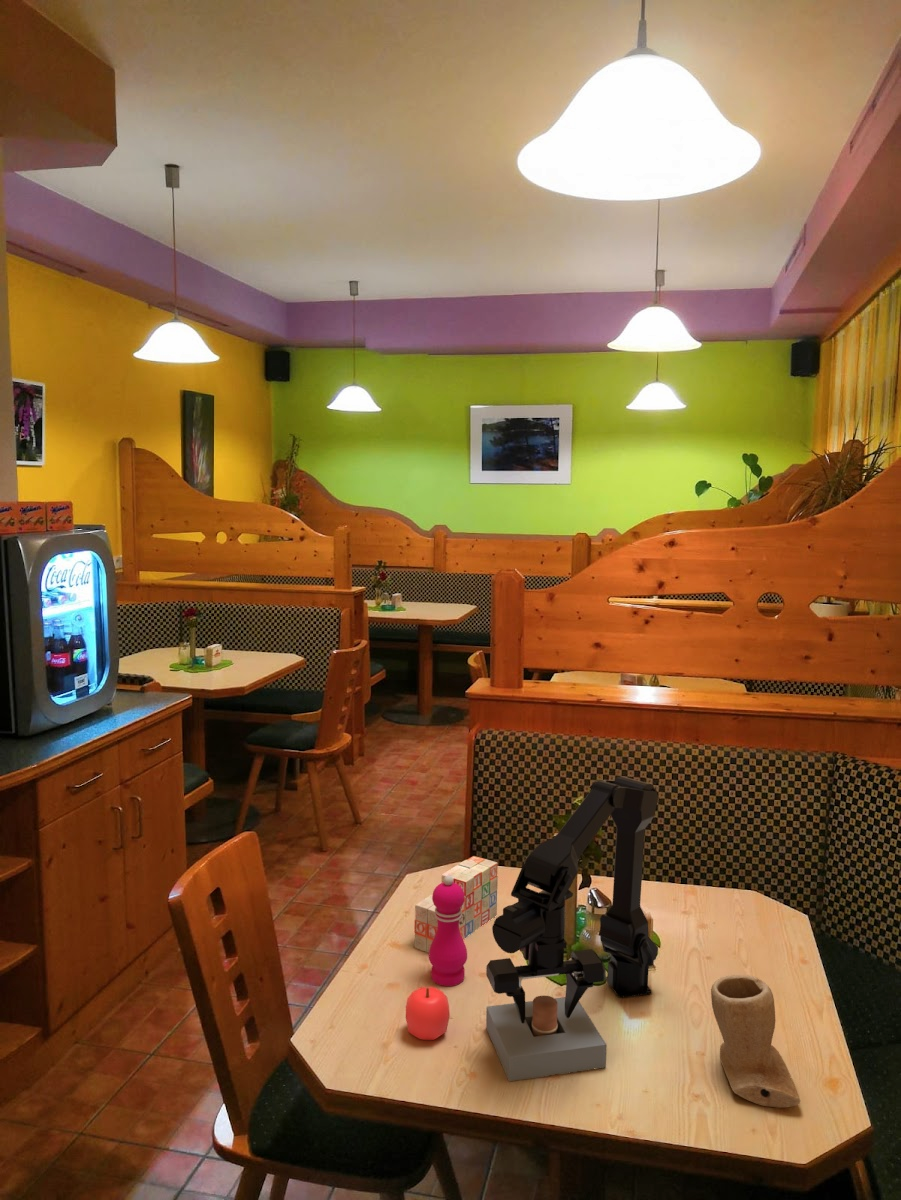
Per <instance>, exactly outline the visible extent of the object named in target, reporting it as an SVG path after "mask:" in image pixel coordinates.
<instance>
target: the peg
mask: <svg viewBox="0 0 901 1200" xmlns="http://www.w3.org/2000/svg"><path fill="white" fill-rule="evenodd" d="M554 998H555V997H553V996H549V995H537V996H536V997H534V998H533V999H532V1001H533V1021H532V1034H533V1036H534V1037H536V1036H544V1035H551V1034H557V1026H558V1024H557V1001H556V999H554Z"/></svg>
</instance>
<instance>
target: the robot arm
mask: <svg viewBox="0 0 901 1200" xmlns="http://www.w3.org/2000/svg"><path fill="white" fill-rule="evenodd" d="M658 803H659V794H658V790H657V789H656V788H655V786H654V785H653V784H651V783H650V782H649V783H648V782H645V781H643V780H642V781H641V780H638V779H633V778H632V777H631V778H630V777H628V776H622V775H621V776H618V777H616V778H615V779H614V780H613V779H603V780H594V782H593V783H592V784H591V786H590V787H589V793H587V795H586V796H585V797H584V799H583V800H582V802H581V803H580V804H579V805H578V806H577V808H576V809H575V810H574V812H573V813H572V815H571V816H570V817H569V819H568V820H567V821H566V822H565V824H564V825H563V826H562V828H561V829H560V830H559V831H558V832H557V834H556V835H555V836H553V837H552V838H550V839H547V840H544V841H541V842H540V843H539V844H538V845H537V846H535V848H534V849H533V850H532V851H531V852H530V853H529V854H528V855H527V856H526V858H525V859H524V862H523V864H522V867H521V869H520V871H519V873H518V876H517V878H516V881H515V883H514V885H513V887H512V890H511V893H510V896H511V897H514V898H515V899H518V900H517V902H514V903H513V904H510V905H507V906H505V907H503V909H502V914H500V915H499V916H498V917H495V919H494V921H493V924H492V928H491V929H492V936H493V938H494V942H495V943H496V945H497V946H498V948H500V949H501V950H502V951H503V952H505V953H507V954H515V953H517V952H518V951H520V952H522V955H523V959H524V961H528V964H525V965H516V966H515V965H514V963H513V961H512V960H511V958H510V957H509V958H498V959H490V960H489V961H488V963H487V965H486V968H485V969H486V970H485V971H486V977H487V980H488V982H489V984H490V986H491V988H492V990H493V992H494V993H495V994H499V995H501V994H505V995H506V996H507V997H509V998H512V999H513V1002H514V1003H515V1005H516V1008H517V1012H518V1015H519V1018H520V1021H521V1023H522V1024H523V1023H524V1022H525V1002H526V992H525V989H524V988H523V985H522V981H523V980H528V979H529V980H530V979H539V978H545V977H554V976H560V975H565V978H566V983H565V984H566V985H565V996H564V997H565V1016H566V1017H567V1018H569V1017H570V1015H571V1014H572V1012H573V1010H574V1008H575V1007H576V1005H577V1003H578V1001H579V1002H580V1000H581V998H582V997H583V996H584V994H585V993H586V992H587V990H588V989H589V988H592V987H594V983H601V982H602V983H603V982H604V981H605V980H606V982H607V984H608V985H609V987H610V988H611V989H612V990H613V992H614V993H615V995H617V997H618V998H629V997H638V996H644V995H652V991H653V990H652V989H651V988H650V986H649V967H651V966H652V967H653V966H654V964H655V963H654V962H655V960H656V959H657V956H658V951H659V947H658V945H657V944H656V943H655V942H654V941H653V940H652V939H651V938H650V936H649V935H650V934H649V921H648V919H647V917H646V915H645V913H644V911H643V909H642V907H641V899H642V898H641V895H642V878H643V867H644V866H643V863H644V849H645V848H644V846H645V831H646V828H647V827H648V825H649V824H650V822H651V821H652V820H653V819H654V818H655V816H656V811H657V805H658ZM609 817H611V819H612V821H613V822H614V825H615V827H616V837H615V850H614V851H615V852H614V854H615V855H614V870H613V886H612V888H613V889H612V890H613V891H612V905H610V907H609V908H608V910H607V911H606V912H605V913H604V914H601V916H600V918H599V921H600V922H599V924H600V927H599V933H598V936H600V937H599V938H600V943H601V945H602V950H603V952H604V953H608V954H610V960H608V962H607V970H606V966H605V963H604V962H603V961H602V959H601V958H600V957H599V955H598V954H597V952H595V950H594V949H593V948H591V949H590V948H589V949H582V950H573V951H572V952H571V954H570V958H569V959H568V960H565V949H567V944H568V942H567V941H566V939H565V930H566V929H565V923H566V922H565V921H566V918H565V917H566V901H567V900H568V899H571V898H572V897H573V896H574V893H573V892H572V891H571V890H570V888H571V886H572V884H573V883H574V880H575V879H576V878H577V875H578V873H579V859H580V858H581V856H582V854H583V853H584V851H585V850H586V848H587V847H588V846H589V844H590V843H591V842H592V841H593V839H594V838H595V836H596V835H598V833H599V831H600V830H601V828H602V827H603V826H604V825H605V823H606V822H607V820H608V818H609ZM528 885H529V886H532V887H535V888H537V889H539V890H540V891H539V892H537V891H536V890H533V889H530V888H529V887H527V886H528ZM606 971H607V973H606ZM606 974H607V976H606Z"/></svg>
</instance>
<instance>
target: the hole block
mask: <svg viewBox="0 0 901 1200" xmlns="http://www.w3.org/2000/svg"><path fill="white" fill-rule="evenodd" d="M553 998H554V999H556V1001H557V1024H558V1026H557V1034H551V1035H544V1036H536V1037H534V1036H533V1034H532V1021H533V1000H530V1001H525V1022H524V1023H523V1024H522V1023H521V1021H520V1018H519V1015H518V1012H517V1008H516V1005H515V1002H514V1003H512V1002H511V1003H507V1004H506V1003H505V1004H497V1005H496V1004H495V1005H488V1006H486V1016H485V1017H486V1020H485V1021H486V1023H485V1024H486V1025H485V1026H486V1027H485V1028H486V1032H487V1034H488V1036H489V1038H490V1040H491V1043H492V1045H493V1048H494V1050H495V1052H496V1054H497V1056H498V1059H499V1062H500V1064H501V1066H502V1068H503V1070H504V1073H505V1075H506V1078H507V1080H508V1082H514V1081H523V1080H530V1079H537V1078H542V1077H543V1078H544V1076H545V1077H550V1076H549V1075H552V1076H556V1075H555V1074H559V1075H564V1074H563V1073H566V1074H570V1073H569V1072H573V1073H578V1072H577V1071H581V1072H583V1071H582V1070H588V1069H594V1068H602V1069H605V1068H604V1067H606V1068H607V1047H608V1046H607V1043H606V1042H605V1040H604V1038H603V1037H602V1035H601V1034H600V1032H599V1030H598V1029H597V1027H596V1026H595V1024H594V1022H593V1021H592V1019H591V1017H590V1015H588V1012H587V1011H586V1009H585V1008H584V1007H583V1005H582V1003H581V1002H580V1000H579V1001H578V1003H577V1005H576V1007H575V1008H574V1010H573V1012H572V1014H571V1015H570V1017H569V1018H567V1017H566V1016H565V996H562V997H553ZM588 1071H589V1070H588Z"/></svg>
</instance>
